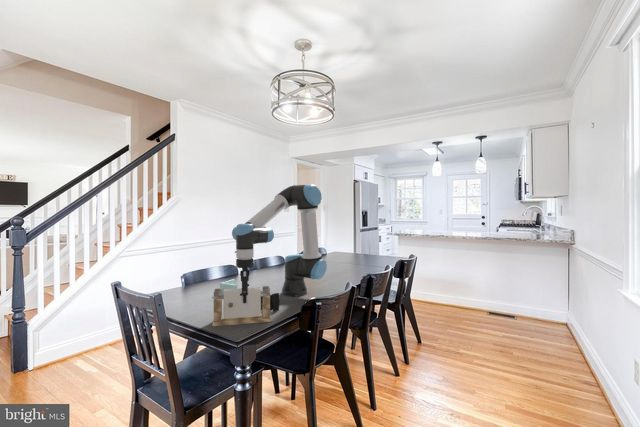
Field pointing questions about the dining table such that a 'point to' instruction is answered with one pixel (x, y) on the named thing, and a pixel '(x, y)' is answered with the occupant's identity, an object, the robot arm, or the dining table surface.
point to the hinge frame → (221, 321)
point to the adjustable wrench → (273, 301)
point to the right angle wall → (228, 285)
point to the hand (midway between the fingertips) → (244, 305)
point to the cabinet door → (234, 303)
